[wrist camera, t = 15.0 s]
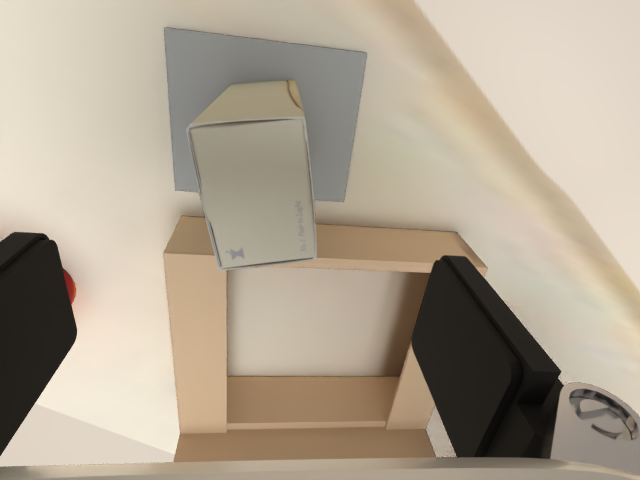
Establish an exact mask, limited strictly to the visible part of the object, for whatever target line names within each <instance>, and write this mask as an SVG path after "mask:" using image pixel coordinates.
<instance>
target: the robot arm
mask: <svg viewBox="0 0 640 480" xmlns="http://www.w3.org/2000/svg"><path fill="white" fill-rule="evenodd" d="M76 336H77V327H76V323H75V319H74V315H73V310H72V306H71V302H70V298H69V294H68V289H67V285H66V281H65V277H64V273H63V268H62V264H61V260H60V256H59V252H58V247H57V244H56V243H55V241H53V240H49V238H48V237H47V235H45V234H43V233H25V232H14V233H12V234H10V235H9V236H8V237H6V238H5V239H4V240H2V241H1V242H0V456H1V454H2V453H3V451H4V450H5V448H6V446H7V445H8V443H9V442H10V440H11V439H12V437H13V436H14V434H15V433H16V431H17V430H18V428H19V427H20V425H21V424H22V422H23V421H24V419H25V417H26V416H27V414H28V413H29V411H30V410H31V408H32V407H33V405H34V404H35V402H36V401H37V399H38V398H39V396H40V395H41V393H42V392H43V390H44V388H45V387H46V385H47V384H48V382H49V381H50V379H51V378H52V376H53V375H54V373H55V372H56V370H57V369H58V367H59V366H60V364H61V363H62V361H63V359H64V358H65V356H66V355H67V353H68V352H69V350H70V349H71V347H72V346H73V344H74V342H75V340H76ZM411 345H412V349H413V352H414V355H415V357H416V359H417V362H418V364H419V367H420V369H421V371H422V374H423V376H424V379H425V381H426V383H427V386H428V388H429V391H430V393H431V395H432V398H433V400H434V403H435V405H436V407H437V410H438V412H439V415H440V417H441V419H442V422H443V424H444V427H445V429H446V432H447V434H448V436H449V439H450V441H451V444H452V446H453V448H454V451H455V453H456V456H457V457H433V458H369V459H307V460H258V461H211V462H166V463H126V464H87V465H53V466H52V465H50V466H12V467H0V480H640V417H639V415H638V414H637V413H636V412H635V411H634V410H633V409H632V408H631V407H630V406H629V405H627V404H626V403H625V402H623V401H622V400H620V399H619V398H618V397H616V396H615V395H613V394H611V393H609V392H607V391H605V390H604V389H601V388H598V387H596V386H593V385H590V384H585V383H580V382H578V383H569V384H567V385H565V386H564V385H563V384H562V383H561V382H560V380H559V379H558V376H559V375H560V373H561V371H560V369H559V368H558V367H557V366H556V364H555V363H554V362H553V361H552V360H551V358H550V357H549V356H548V355H547V354H546V352H545V351H544V350H543V349H542V347H541V346H540V345H539V344H538V343H537V341H536V340H535V339H534V338H533V337H532V335H531V334H530V333H529V332H528V331H527V329H526V328H525V327H524V326H523V324H522V323H521V322H520V321H519V320H518V318H517V317H516V316H515V315H514V314H513V312H512V311H511V310H510V309H509V307H508V306H507V305H506V304H505V303H504V301H503V300H502V299H501V298H500V297H499V295H498V294H497V293H496V292H495V291H494V289H493V288H492V287H491V286H490V284H489V283H488V282H487V281H486V280H485V278H484V277H483V276H482V275H481V274H480V272H479V271H478V270H477V269H476V267H475V266H474V265H473V264H472V263H471V261H470V260H469V259H468V258H467V257H466V256H452V255H444V256H442V257H441V258H440V260H436V261H435V262H434V264H433V267H432V270H431V273H430V277H429V280H428V284H427V287H426V290H425V294H424V297H423V300H422V304H421V307H420V310H419V314H418V317H417V321H416V324H415V327H414V331H413V334H412V339H411Z"/></svg>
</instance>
